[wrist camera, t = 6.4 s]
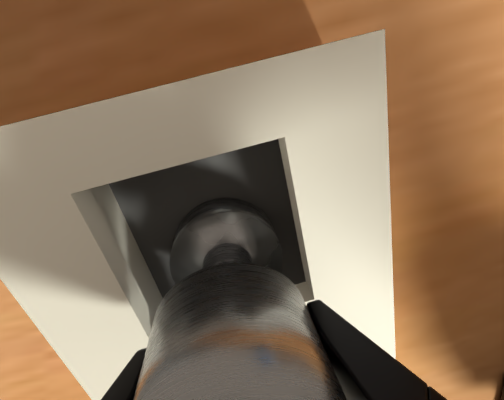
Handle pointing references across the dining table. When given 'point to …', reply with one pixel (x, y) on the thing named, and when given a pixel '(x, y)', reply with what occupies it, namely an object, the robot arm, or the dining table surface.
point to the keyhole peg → (233, 317)
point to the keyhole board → (200, 196)
